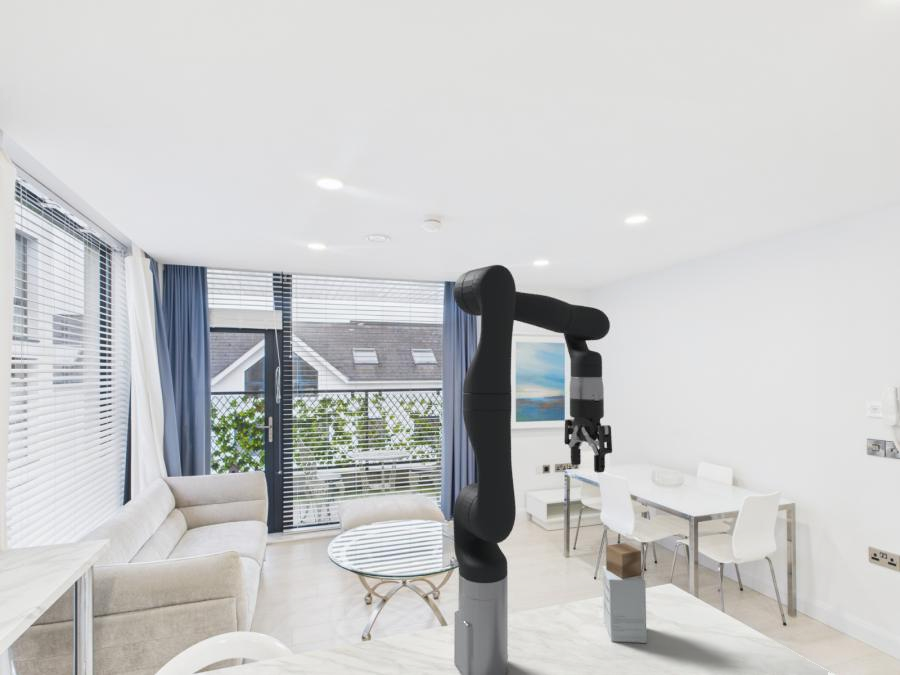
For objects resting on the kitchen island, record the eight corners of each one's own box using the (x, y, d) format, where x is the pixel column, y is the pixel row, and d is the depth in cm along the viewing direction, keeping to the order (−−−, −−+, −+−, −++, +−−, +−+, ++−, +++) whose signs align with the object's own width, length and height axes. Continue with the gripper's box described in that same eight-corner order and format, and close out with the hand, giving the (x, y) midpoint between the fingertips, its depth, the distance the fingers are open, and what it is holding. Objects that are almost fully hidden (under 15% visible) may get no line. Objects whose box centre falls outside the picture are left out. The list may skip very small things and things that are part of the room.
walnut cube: (622, 578, 102) (622, 554, 102) (606, 569, 107) (606, 545, 107) (641, 575, 104) (641, 550, 104) (624, 566, 108) (624, 542, 109)
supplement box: (637, 625, 108) (636, 565, 109) (647, 644, 101) (646, 580, 101) (602, 623, 109) (601, 564, 109) (610, 641, 101) (609, 578, 102)
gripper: (555, 395, 119) (555, 463, 118) (592, 399, 106) (593, 476, 105) (581, 394, 122) (581, 461, 121) (621, 398, 108) (622, 473, 108)
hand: (587, 468), depth 113 cm, fingers open, 8 cm apart
